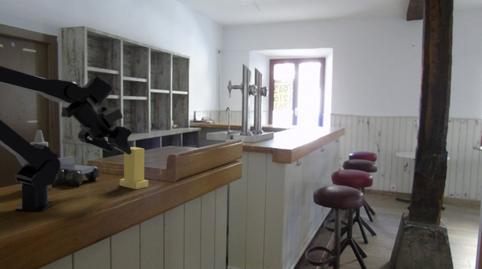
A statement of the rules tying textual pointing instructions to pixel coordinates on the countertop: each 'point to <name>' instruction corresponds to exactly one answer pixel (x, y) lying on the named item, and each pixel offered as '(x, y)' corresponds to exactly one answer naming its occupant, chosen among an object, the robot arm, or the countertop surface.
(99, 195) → the countertop surface
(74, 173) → the trolley
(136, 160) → the yellow block on base
